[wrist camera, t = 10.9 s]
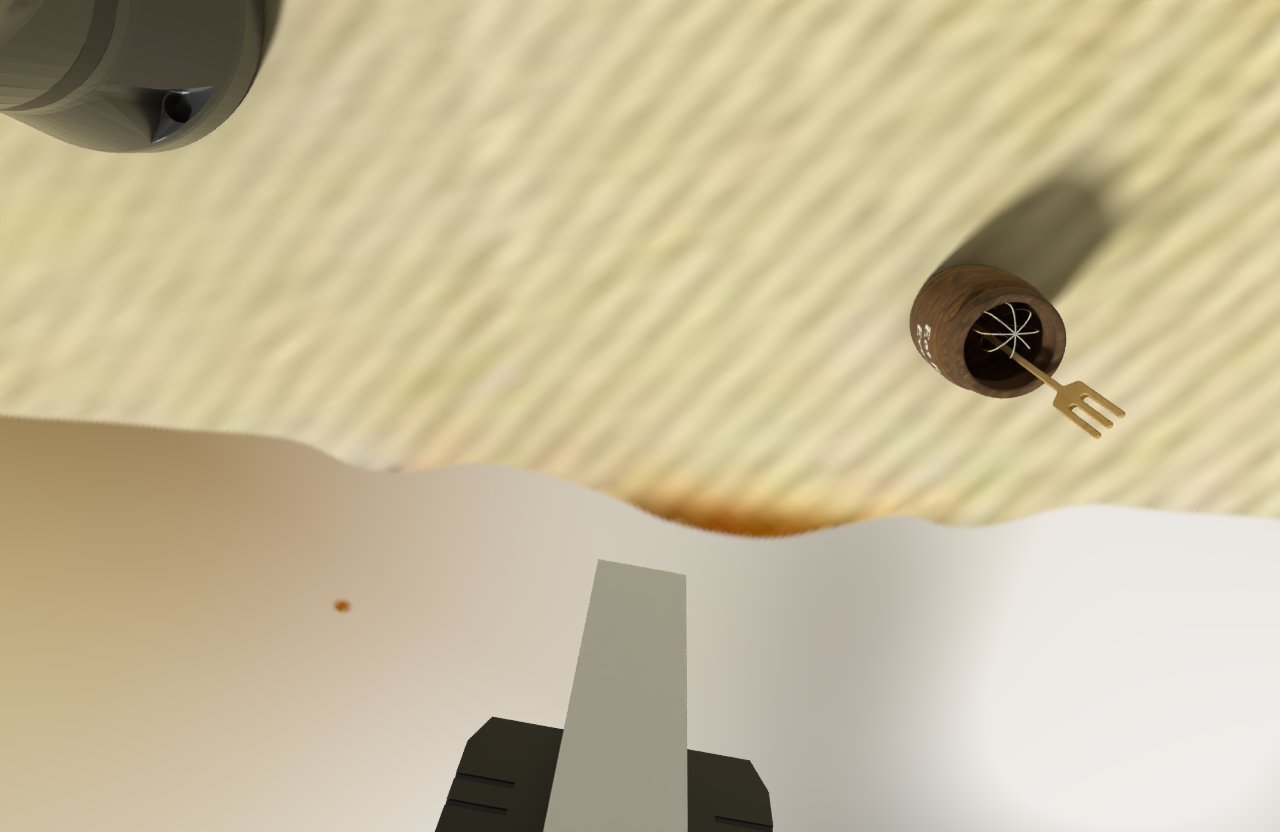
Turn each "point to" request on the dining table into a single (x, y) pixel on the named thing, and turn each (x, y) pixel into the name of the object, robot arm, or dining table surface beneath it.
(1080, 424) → the utensil holder
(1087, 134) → the dining table surface
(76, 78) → the robot arm
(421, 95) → the dining table surface
